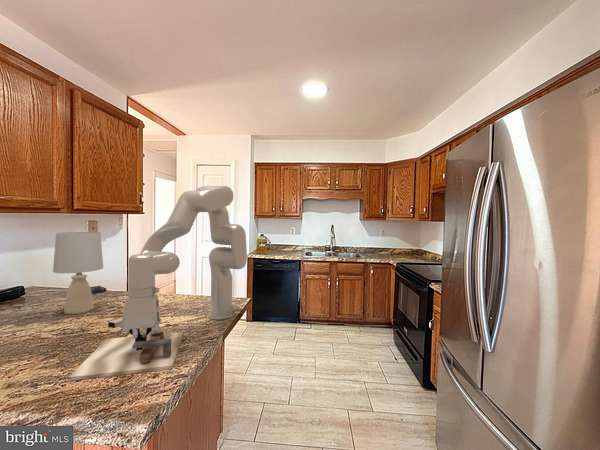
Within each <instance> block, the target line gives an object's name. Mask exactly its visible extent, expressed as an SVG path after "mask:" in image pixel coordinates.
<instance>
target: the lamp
mask: <svg viewBox="0 0 600 450" xmlns="http://www.w3.org/2000/svg"><path fill="white" fill-rule="evenodd" d="M54 242H55V243H54V255H53V266H52V267H53V268H52V273H55V274H74V275H72V276H70V278H71V279H72V280H71V282H70V285H69V286H68V290H67V292H66V294H65V295H66V296H65V300H64V308H63V312H64V314H65V315H79V314H85V313H88V312H91V311H92V310H94V308H95V304H94V299H93V297H94V296H93V294H92V292H91V289H90V287H91V286H90V284H89V281H87V277H88V274H85V273H88V272H94V271H95V272H96V271H100V270H103V269H104V261H103V260H104V259H103V248H102V244H103V243H102V235H101V232H100V231H99V232H98V231H68V232H66V231H65V232H64V231H63V232H55V241H54ZM83 273H84V274H83Z"/></svg>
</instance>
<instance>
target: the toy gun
mask: <svg viewBox="0 0 600 450" xmlns="http://www.w3.org/2000/svg"><path fill="white" fill-rule="evenodd" d="M159 322H161V317H160V320H159ZM107 326H108V327H109V328H113V329H114V328H116V327H117V328H118V327H120V326H122V317H121V318H118V319H115V320H111V321H108V322H107Z"/></svg>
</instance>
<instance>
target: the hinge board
mask: <svg viewBox="0 0 600 450" xmlns="http://www.w3.org/2000/svg"><path fill="white" fill-rule="evenodd" d="M161 331H162V329H160V328H159V329H158V330H155V331H152V333H153V334H154V335H157V334H160V333H161ZM183 337H184V331H183V332H171V333H170V332H169V333H164V339H160V340H149V339H150V334H148V335H147V341H138V342H135V338H134V337H133V336H122V337H111V338H105V339H104V340H103V341H102V342H101V343H100V344H99V345H98V346H97V347H96V349H94V351H93V352H91V354H90V355H89V356H88V357H87V358H86V359H85V360H84V361H83V362H82V363H81V364H79V366H78V367H77V368H76V369H75V370H74V371H73V372H72V373H71V374H70V375H69V376H68V381H69V382H71V381H78V380H87V379H98V378H106V377H113V376H122V375H129V374H132V375H133V374H139V373H141V374H142V373H146V372H147V373H148V372H156V371H166V370H172V369H173V367H174V364H175V361H176V359H177V355H178V352H179V350H180V346H181V343H182V340H183ZM154 346H158V347H157V349H156V351H155V353H154V355H153V357H152V359H151V360H150V361H149V362H146V363H140V354H141V352H142V350H143V349H144V347H154ZM136 348H143V349H142V350H136Z"/></svg>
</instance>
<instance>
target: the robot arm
mask: <svg viewBox="0 0 600 450" xmlns="http://www.w3.org/2000/svg"><path fill="white" fill-rule="evenodd" d="M234 196H235V195H234V192H233V190H232V188H231V187H229V186H227V185H207V186H206V185H204V186H200V187H197V188H196V189H195V190H187V191H184V192H182V193H181V195H180V196H179V198H178V199H177V202H176V204H175V206H174V208H173V210H172V212H171V214H170V216H169V218H168V220H167V222H166V223H165V224H163V225H162V226H160V227H159V228H158V229H157V230H156V231H155V232H153V234H151V235H150V237H148V239H147V240H146V242H145V244H144V245H143V247H142V249H141V250H140V253H137V254H136V253H135V254H132V255H130V257H128V277H127V278H128V281H127V282H128V283H127V284H128V287H127V291H128V292H127V296H126V297H125V301H124V305H123V309H122V317H121V318H122V325H121V326H122V328H121V329H122V330H121V332H123V333H130V334H131V336H132V337H134V338H135V342H138V341H147V335H150V334H151V332H153V331H155V330H158V329H160V324H159V322H160V321H161V320H160V318H161V314H160V313H161V312H160V301H159V296H158V293H160V288H159V287H156V285H155V283H156V281H155V280H156V275H165V274H166V275H168V274H172V273H174V272H175V271H177V270H178V268H179V267H180V264H181V263H180V262H181V261H180V257H178V255H177V254H175V253H173V252H171V251H170V252H169V251H163V250H164V249H165V247H166V246H167V245H168V244H170V243H171V242H172V241H174V240H176V239H178V238H182V237H184V236H185V235H187V234H189V233H190V232H191V229H192V227H193V225H194V223H195V221H196V218H197V216H198V214H199V213H207V214H208V217H209V218H208V219H209V227H210V239H211V241H212V243H214V244H215V245H221V246H217V247H214V248H213V249H211V250H210V252H209V254H208V261H209V267H210V310H209V311H208V312H207V313H206V316H207V318H208V319H210V320H216V321H218V320H219V321H221V320H227V319H230V318H231V319H232V318H234V317H235V316H236V312H241V311H243V306H240V305H234V303H233V281H234V280H233V273H232V271H231V269H232V270H242V269H243V268H245V266H246V265H247V261H248V259H247V258H248V252H247V235H246V234H247V233H246V231H245V229H244V227H243V226H242V225H240V224H238V223H236V224H235V223H231V222H230V216H229V211H228V209H227V207H228V206H230V205H231V204H232V202H233V201H234ZM226 246H228V247H226ZM229 246H230V247H229ZM159 320H160V321H159ZM141 329H142V330H141ZM142 349H143V348H136V350H142Z"/></svg>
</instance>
